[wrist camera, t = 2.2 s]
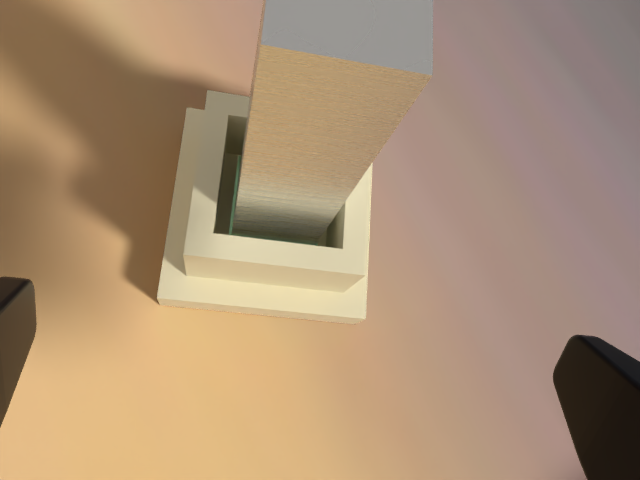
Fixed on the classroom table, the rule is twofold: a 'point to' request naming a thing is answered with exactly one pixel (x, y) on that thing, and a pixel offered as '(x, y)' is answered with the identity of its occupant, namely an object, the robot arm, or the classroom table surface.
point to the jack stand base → (251, 253)
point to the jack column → (324, 107)
